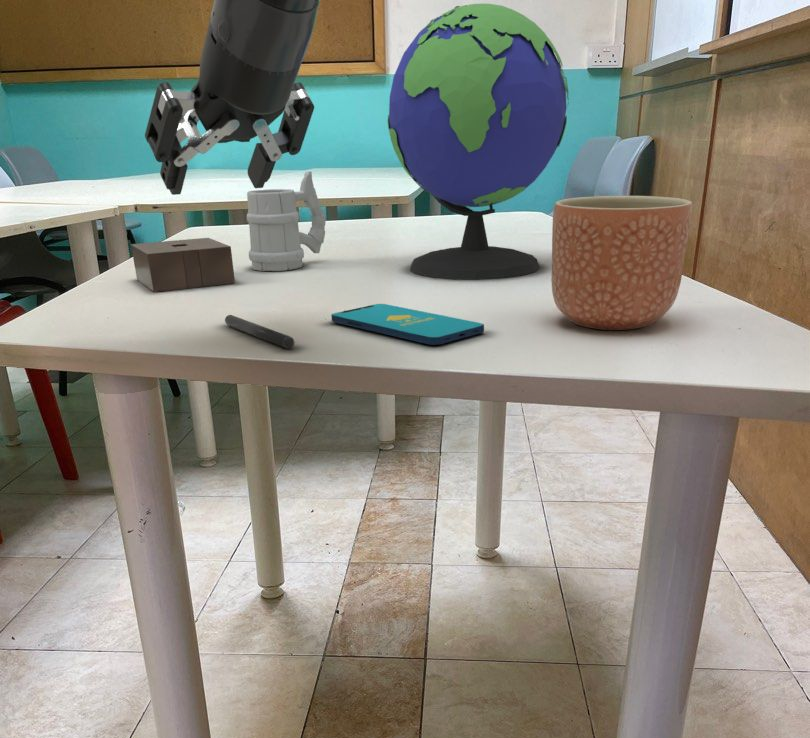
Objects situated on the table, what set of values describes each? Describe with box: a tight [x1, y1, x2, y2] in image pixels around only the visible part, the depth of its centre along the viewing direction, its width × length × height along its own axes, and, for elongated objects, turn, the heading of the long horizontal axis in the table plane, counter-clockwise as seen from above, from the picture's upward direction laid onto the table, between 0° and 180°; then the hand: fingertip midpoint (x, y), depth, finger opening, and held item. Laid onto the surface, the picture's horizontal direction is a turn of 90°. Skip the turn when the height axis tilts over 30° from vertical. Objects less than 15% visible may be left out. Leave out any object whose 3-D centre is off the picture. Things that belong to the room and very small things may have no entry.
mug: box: [246, 170, 327, 272], centre depth 112 cm, size 8×12×12 cm, turn 125°
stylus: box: [224, 314, 295, 350], centre depth 77 cm, size 1×1×13 cm
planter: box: [551, 195, 693, 331], centre depth 77 cm, size 12×12×11 cm
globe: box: [387, 3, 570, 280], centre depth 102 cm, size 22×22×30 cm
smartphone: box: [330, 303, 485, 346], centre depth 79 cm, size 7×1×15 cm
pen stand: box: [130, 237, 236, 293], centre depth 104 cm, size 10×10×4 cm
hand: (214, 184), depth 77 cm, fingers open, 8 cm apart
